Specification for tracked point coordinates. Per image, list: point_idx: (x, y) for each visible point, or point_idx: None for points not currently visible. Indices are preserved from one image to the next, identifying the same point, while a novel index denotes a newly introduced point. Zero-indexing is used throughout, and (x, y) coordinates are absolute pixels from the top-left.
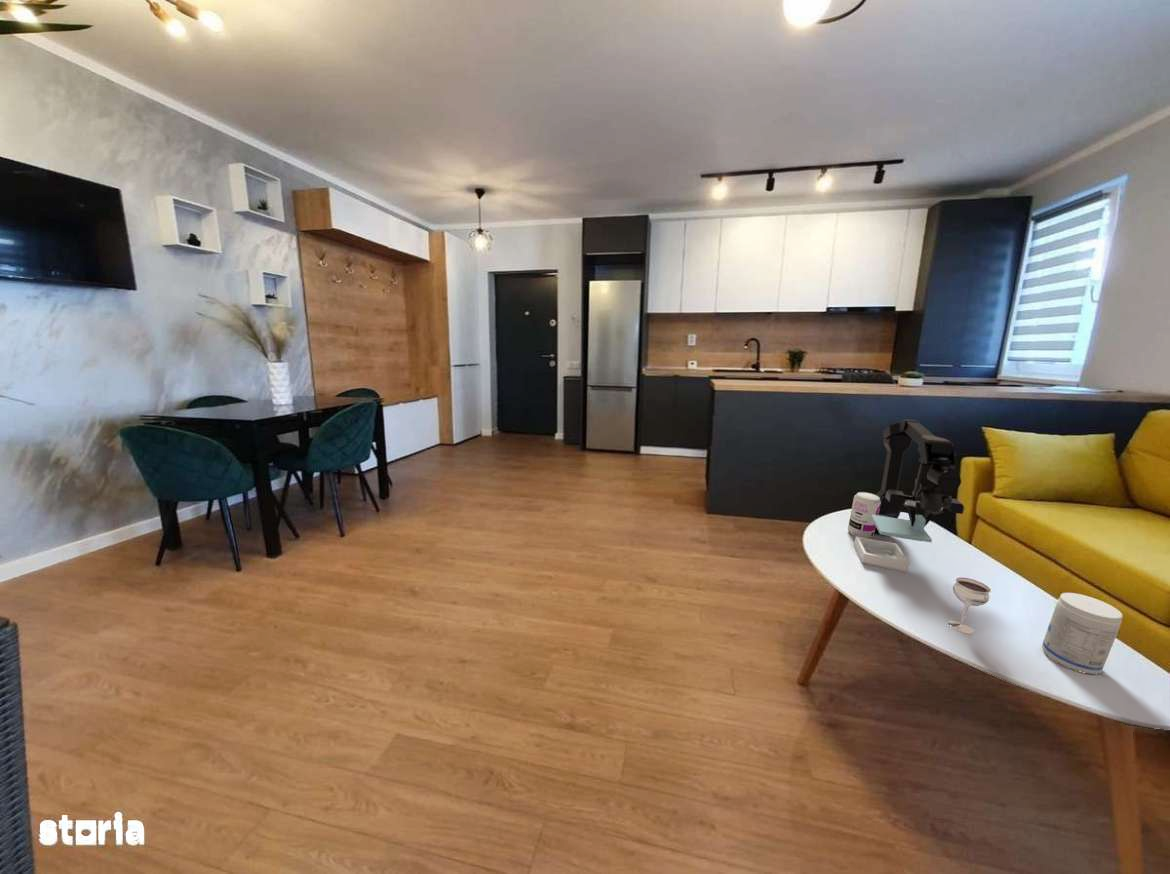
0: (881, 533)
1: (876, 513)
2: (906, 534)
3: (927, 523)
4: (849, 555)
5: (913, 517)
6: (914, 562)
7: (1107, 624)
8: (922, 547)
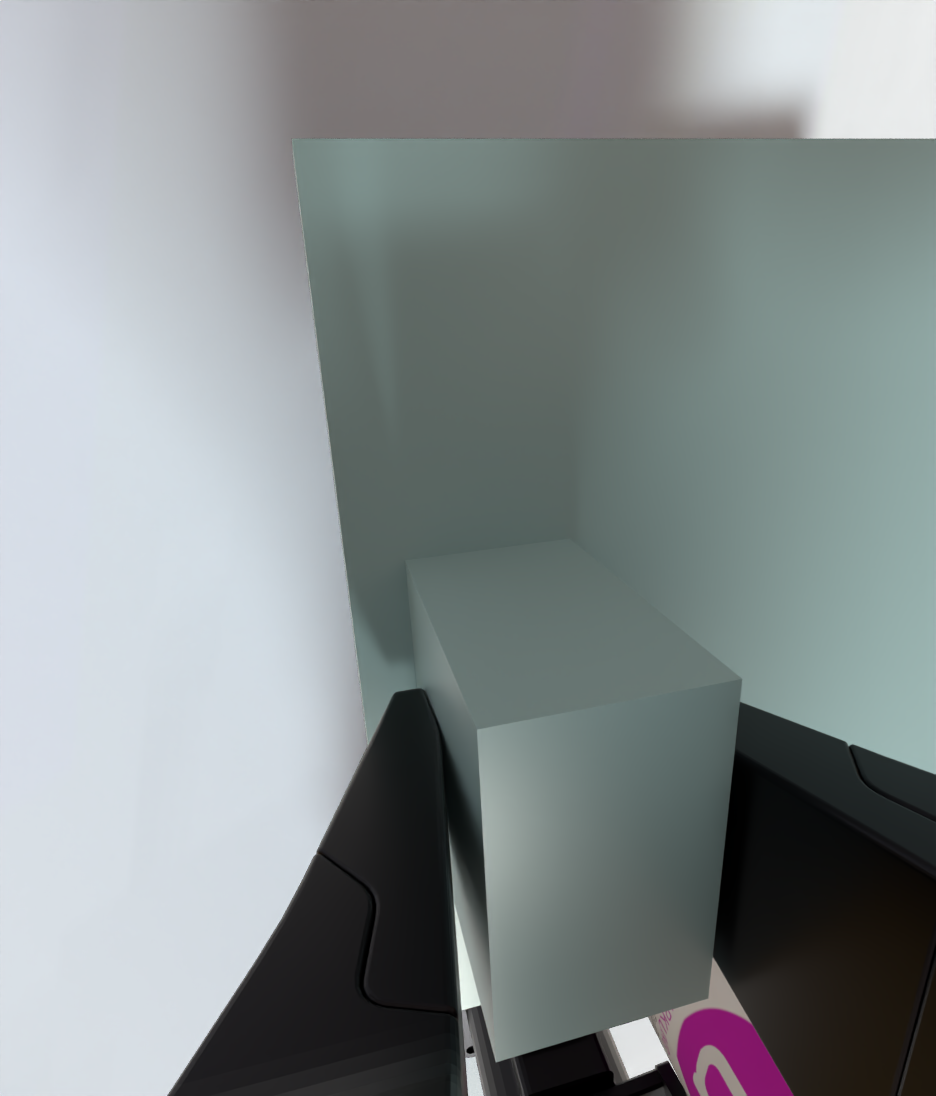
0: None
1: (756, 1043)
2: (785, 199)
3: (361, 760)
4: None
5: (781, 749)
6: (337, 553)
7: None
8: (229, 906)
